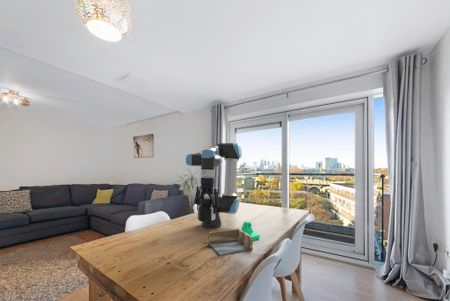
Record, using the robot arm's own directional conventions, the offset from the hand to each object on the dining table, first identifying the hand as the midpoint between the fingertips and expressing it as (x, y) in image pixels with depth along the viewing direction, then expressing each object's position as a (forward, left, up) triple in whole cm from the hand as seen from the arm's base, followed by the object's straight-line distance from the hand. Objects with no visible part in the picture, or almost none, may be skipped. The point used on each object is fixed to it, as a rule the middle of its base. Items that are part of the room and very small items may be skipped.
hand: (206, 218), depth 110 cm
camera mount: (-6, +32, -18) cm, 37 cm away
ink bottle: (0, 0, -1) cm, 1 cm away
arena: (+1, +15, -17) cm, 22 cm away
